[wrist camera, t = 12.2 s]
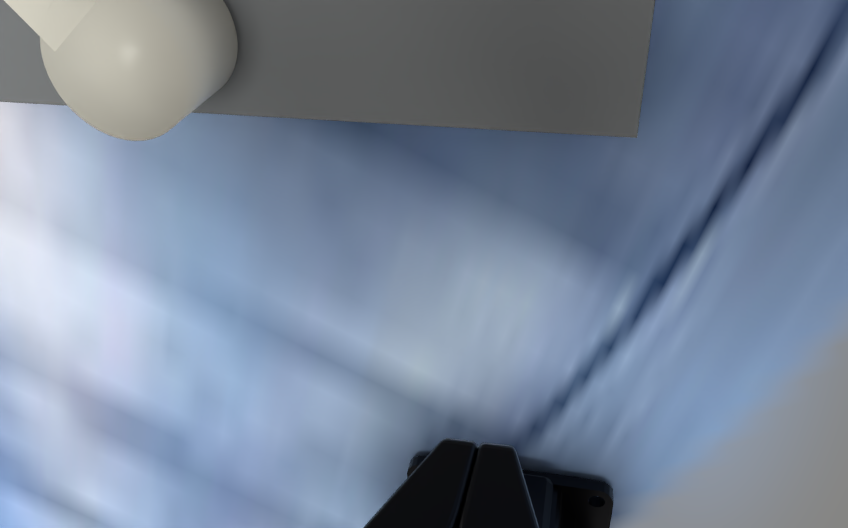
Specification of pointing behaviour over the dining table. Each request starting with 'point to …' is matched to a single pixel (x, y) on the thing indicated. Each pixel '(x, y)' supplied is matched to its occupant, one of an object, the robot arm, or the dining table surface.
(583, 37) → the dial board
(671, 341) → the dining table surface
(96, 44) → the beige wooden bar
